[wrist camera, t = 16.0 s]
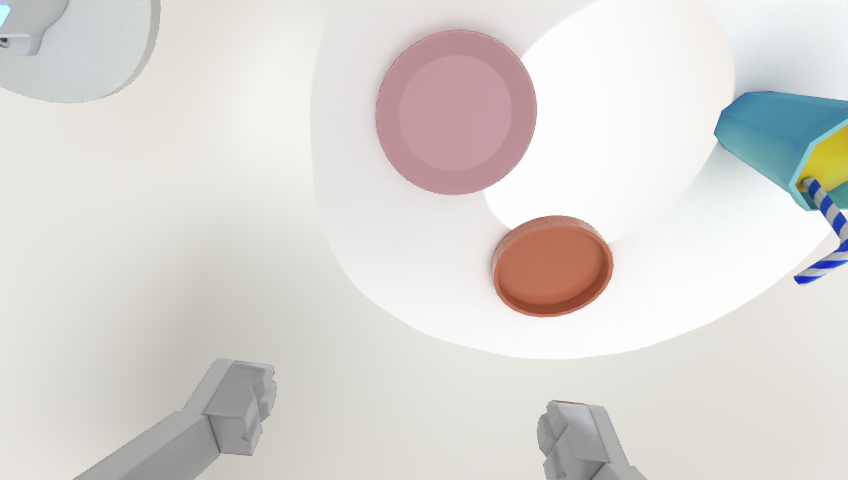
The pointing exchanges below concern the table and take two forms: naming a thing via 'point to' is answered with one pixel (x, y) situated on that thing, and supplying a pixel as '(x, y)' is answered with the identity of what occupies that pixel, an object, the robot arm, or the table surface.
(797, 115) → the cup
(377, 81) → the table surface
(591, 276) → the bowl
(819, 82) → the table surface
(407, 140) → the plate
